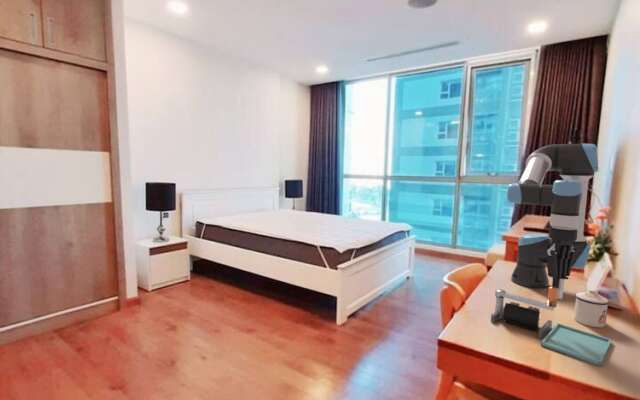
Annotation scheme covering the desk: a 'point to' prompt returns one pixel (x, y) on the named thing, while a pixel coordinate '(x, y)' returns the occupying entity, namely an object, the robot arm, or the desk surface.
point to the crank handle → (550, 305)
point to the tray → (577, 344)
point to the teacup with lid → (591, 309)
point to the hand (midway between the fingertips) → (556, 297)
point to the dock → (499, 313)
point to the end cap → (521, 315)
